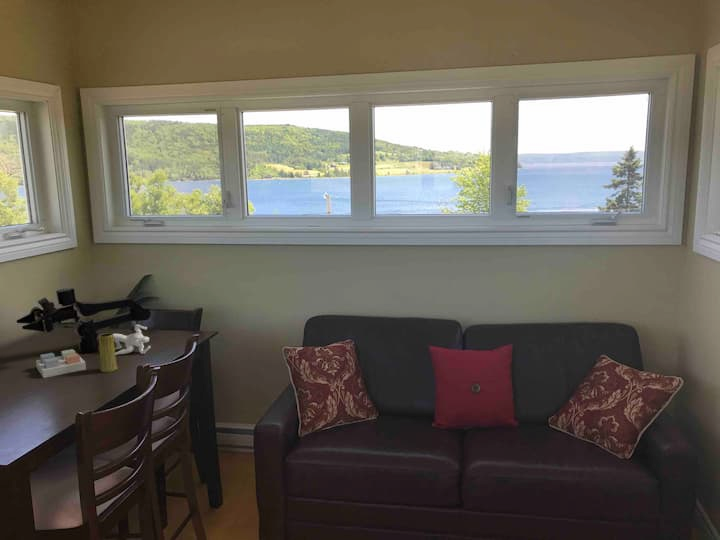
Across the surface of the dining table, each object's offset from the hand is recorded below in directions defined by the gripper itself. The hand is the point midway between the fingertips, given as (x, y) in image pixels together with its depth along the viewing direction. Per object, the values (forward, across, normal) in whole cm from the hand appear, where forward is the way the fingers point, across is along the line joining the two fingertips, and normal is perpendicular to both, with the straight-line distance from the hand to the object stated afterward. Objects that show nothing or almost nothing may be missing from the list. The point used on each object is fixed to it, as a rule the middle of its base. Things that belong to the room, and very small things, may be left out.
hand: (19, 324), depth 228 cm
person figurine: (-36, +17, +19) cm, 44 cm away
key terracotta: (-12, +22, +13) cm, 28 cm away
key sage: (-12, +15, +14) cm, 24 cm away
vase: (-22, +34, +16) cm, 43 cm away
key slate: (-5, +14, +13) cm, 20 cm away
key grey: (-4, +22, +13) cm, 25 cm away
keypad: (-8, +18, +16) cm, 26 cm away
